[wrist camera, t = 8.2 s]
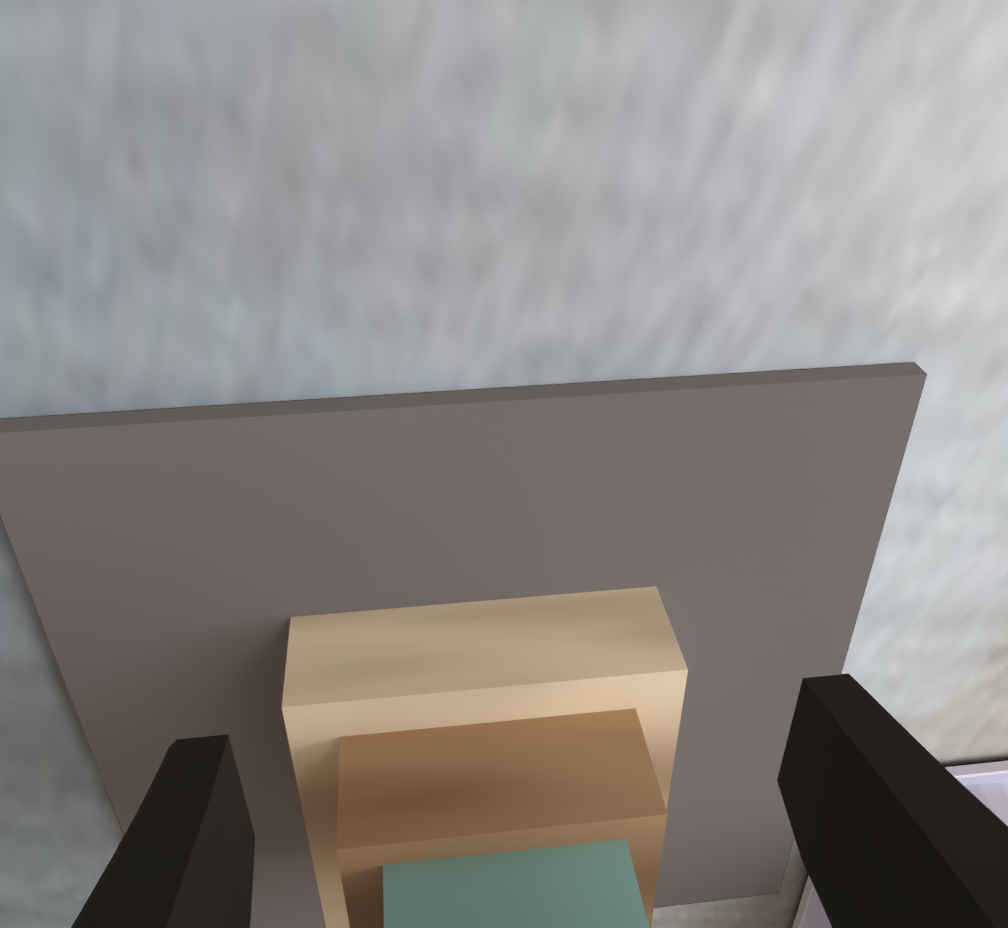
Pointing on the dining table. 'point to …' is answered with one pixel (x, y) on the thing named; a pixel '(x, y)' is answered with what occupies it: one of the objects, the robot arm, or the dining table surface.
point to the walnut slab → (494, 797)
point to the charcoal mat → (461, 567)
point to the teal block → (518, 890)
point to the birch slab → (470, 683)
